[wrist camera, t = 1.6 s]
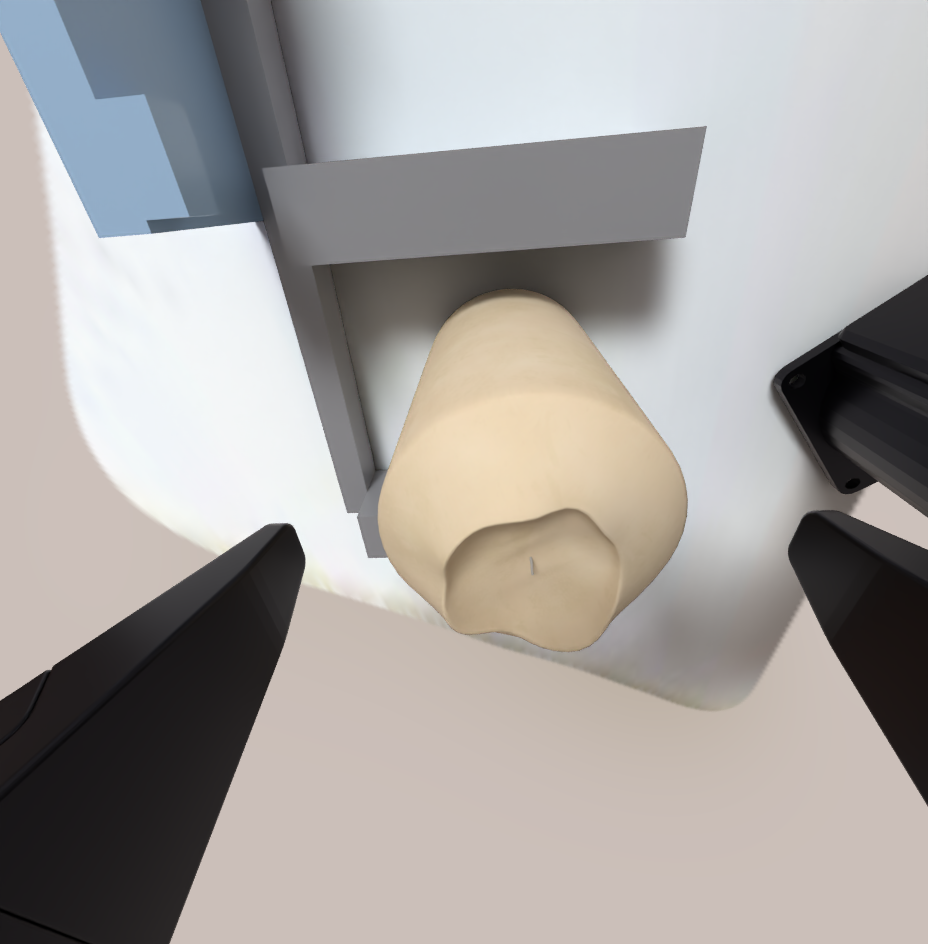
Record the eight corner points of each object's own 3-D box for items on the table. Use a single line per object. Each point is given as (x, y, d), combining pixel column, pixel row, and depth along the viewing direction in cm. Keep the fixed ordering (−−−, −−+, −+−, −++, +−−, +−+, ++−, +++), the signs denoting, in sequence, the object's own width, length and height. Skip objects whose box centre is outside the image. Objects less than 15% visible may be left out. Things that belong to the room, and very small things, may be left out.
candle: (612, 393, 15) (770, 641, 7) (481, 461, 17) (478, 722, 9) (542, 248, 13) (652, 352, 4) (398, 345, 14) (277, 552, 6)
